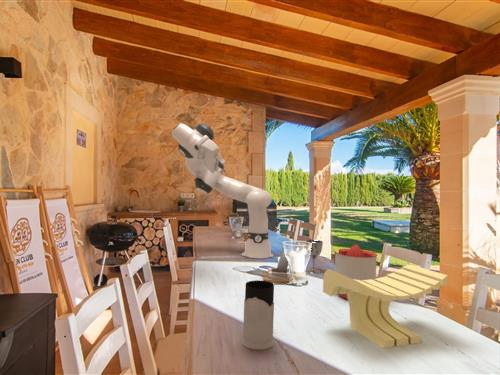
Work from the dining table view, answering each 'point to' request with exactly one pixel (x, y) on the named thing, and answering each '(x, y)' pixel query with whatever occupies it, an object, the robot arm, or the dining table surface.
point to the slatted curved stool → (383, 301)
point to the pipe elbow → (282, 264)
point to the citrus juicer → (355, 264)
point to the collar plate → (276, 276)
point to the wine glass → (315, 253)
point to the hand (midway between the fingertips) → (223, 168)
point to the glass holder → (258, 315)
